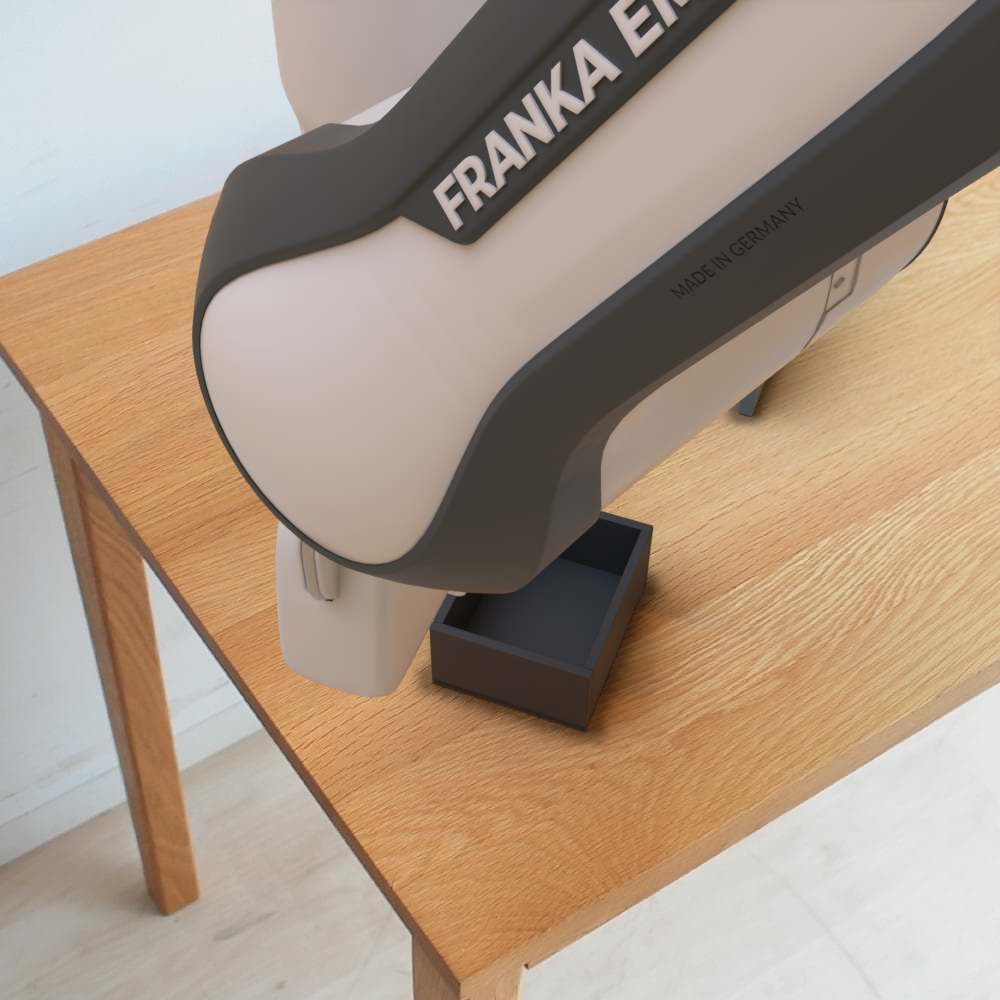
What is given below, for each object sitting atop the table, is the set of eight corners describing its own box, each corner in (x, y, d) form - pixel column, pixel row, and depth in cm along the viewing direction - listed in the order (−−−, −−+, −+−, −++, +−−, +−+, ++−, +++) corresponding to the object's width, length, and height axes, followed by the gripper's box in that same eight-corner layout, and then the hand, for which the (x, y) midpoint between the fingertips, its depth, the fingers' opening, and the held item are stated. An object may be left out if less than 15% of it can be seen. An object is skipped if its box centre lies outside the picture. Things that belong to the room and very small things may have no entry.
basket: (585, 733, 69) (590, 678, 66) (431, 683, 71) (428, 628, 68) (646, 581, 76) (654, 525, 72) (504, 540, 78) (504, 483, 74)
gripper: (410, 544, 37) (428, 821, 47) (646, 121, 50) (620, 411, 60) (191, 479, 38) (255, 761, 48) (475, 85, 51) (478, 373, 61)
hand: (458, 564), depth 54 cm, fingers closed
